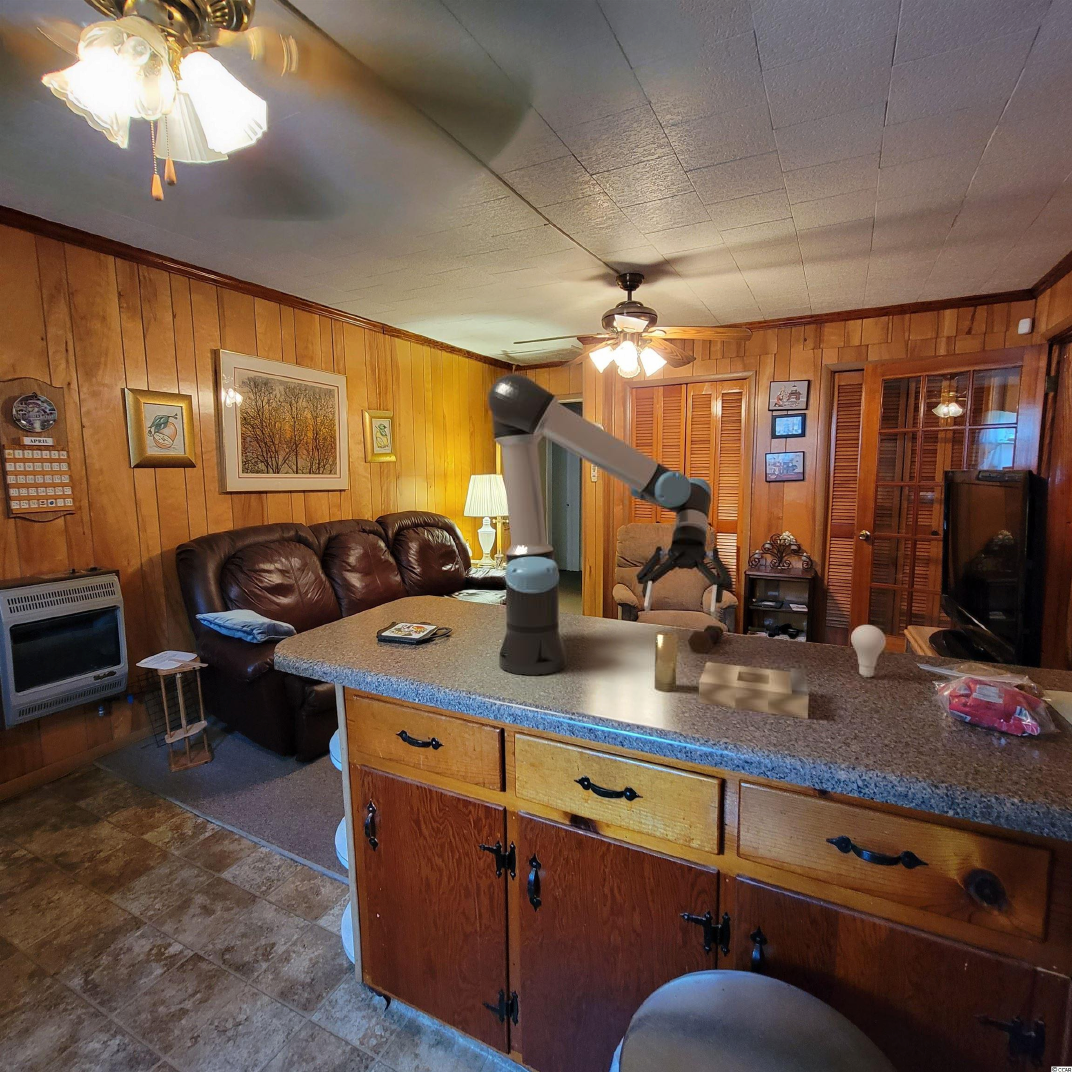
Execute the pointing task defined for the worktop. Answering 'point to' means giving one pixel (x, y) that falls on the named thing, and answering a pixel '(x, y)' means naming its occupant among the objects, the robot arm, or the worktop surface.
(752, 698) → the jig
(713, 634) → the bolt
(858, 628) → the lightbulb
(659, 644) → the brass cylinder
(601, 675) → the worktop surface
